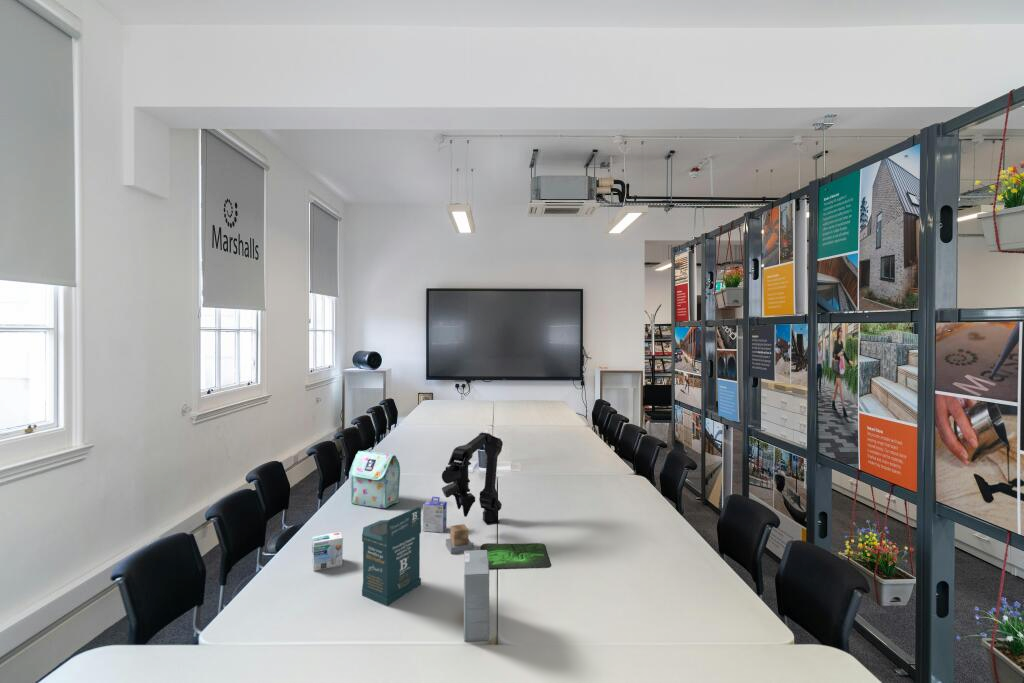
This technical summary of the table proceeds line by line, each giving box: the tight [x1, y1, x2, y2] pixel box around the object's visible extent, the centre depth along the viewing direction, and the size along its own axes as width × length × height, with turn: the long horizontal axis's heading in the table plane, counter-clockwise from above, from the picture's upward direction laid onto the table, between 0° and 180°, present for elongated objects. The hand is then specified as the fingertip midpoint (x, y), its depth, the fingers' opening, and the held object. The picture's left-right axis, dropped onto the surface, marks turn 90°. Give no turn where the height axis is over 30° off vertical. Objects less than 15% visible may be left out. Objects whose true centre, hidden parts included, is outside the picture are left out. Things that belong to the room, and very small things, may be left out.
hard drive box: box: [463, 549, 490, 642], centre depth 149 cm, size 16×8×20 cm, turn 5°
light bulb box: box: [311, 531, 344, 572], centre depth 187 cm, size 11×7×11 cm, turn 117°
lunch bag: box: [349, 450, 401, 509], centre depth 255 cm, size 23×16×27 cm
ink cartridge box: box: [422, 496, 448, 533], centre depth 221 cm, size 10×6×14 cm, turn 81°
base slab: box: [445, 538, 474, 555], centre depth 203 cm, size 9×9×3 cm
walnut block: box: [449, 523, 469, 546], centre depth 202 cm, size 6×6×6 cm
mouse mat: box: [480, 542, 552, 570], centre depth 196 cm, size 27×22×1 cm
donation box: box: [361, 506, 422, 607], centre depth 170 cm, size 16×16×28 cm
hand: (462, 512), depth 211 cm, fingers open, 9 cm apart
